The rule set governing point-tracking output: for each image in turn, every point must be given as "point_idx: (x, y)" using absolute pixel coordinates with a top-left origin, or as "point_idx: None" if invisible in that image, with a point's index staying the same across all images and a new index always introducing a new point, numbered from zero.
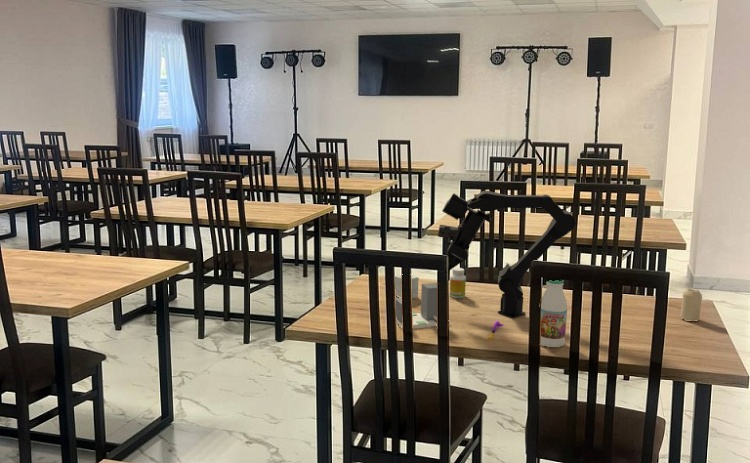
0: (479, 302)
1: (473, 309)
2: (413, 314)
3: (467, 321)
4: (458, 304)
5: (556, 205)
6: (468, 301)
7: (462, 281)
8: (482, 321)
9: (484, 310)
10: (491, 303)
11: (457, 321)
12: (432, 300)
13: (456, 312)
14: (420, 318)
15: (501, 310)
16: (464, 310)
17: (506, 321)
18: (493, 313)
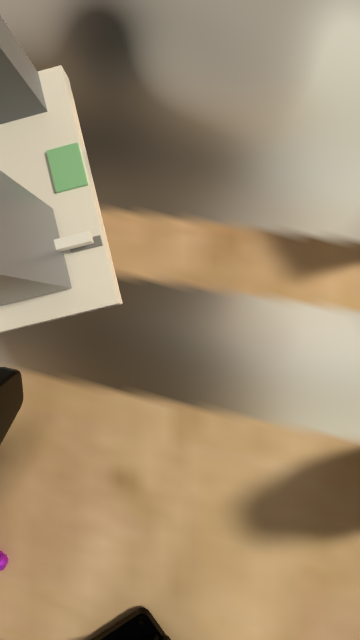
0: (321, 561)
1: (207, 502)
2: (61, 173)
3: (32, 432)
4: (290, 445)
5: None
6: (340, 508)
7: None
8: (31, 502)
9: (190, 553)
10: (302, 618)
11: (32, 386)
12: None
13: (162, 408)
14: None
15: (151, 636)
16: (192, 454)
17: (30, 611)
18: (144, 584)
